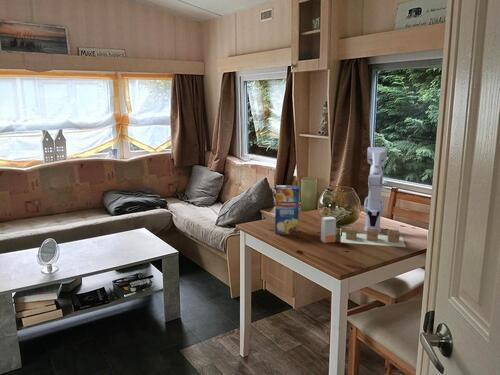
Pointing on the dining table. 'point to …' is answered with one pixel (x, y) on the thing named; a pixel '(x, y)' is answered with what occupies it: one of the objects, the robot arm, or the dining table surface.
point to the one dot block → (393, 235)
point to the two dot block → (351, 233)
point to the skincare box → (328, 229)
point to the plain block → (372, 234)
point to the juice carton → (286, 209)
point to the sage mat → (381, 241)
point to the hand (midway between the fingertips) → (372, 226)
